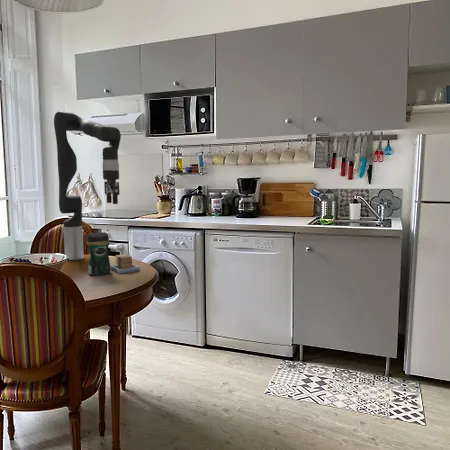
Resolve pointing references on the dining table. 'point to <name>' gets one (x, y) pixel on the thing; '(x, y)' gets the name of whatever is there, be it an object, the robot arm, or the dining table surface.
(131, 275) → the dining table surface
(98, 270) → the coffee jar
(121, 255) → the terracotta cube
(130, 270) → the blue grey tray
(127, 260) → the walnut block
